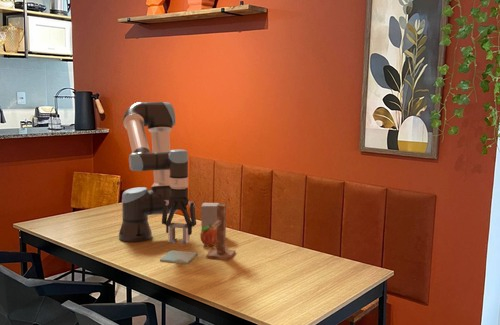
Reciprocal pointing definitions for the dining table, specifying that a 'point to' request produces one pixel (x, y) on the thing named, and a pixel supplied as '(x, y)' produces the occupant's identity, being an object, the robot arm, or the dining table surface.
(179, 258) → the coaster
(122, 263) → the dining table surface
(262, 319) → the dining table surface
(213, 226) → the stand
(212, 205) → the skincare box
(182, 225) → the c link
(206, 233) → the fruit
